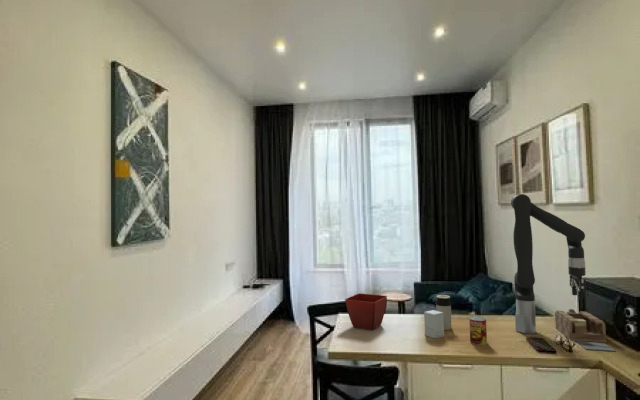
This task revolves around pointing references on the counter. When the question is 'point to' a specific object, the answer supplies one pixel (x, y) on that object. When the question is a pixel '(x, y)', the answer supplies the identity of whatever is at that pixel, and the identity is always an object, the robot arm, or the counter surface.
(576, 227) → the robot arm
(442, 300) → the travel mug
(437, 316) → the supplement box
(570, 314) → the station
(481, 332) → the canned food
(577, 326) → the block
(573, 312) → the vase
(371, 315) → the plant pot
